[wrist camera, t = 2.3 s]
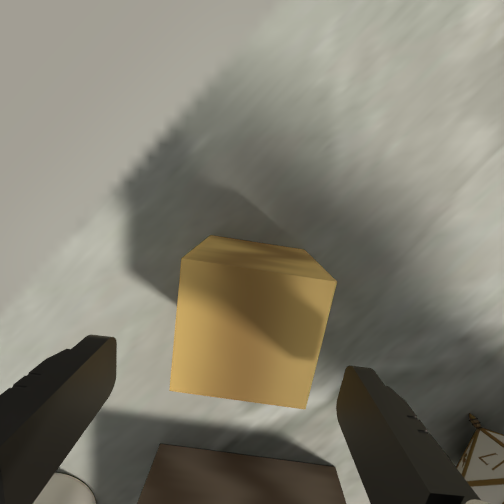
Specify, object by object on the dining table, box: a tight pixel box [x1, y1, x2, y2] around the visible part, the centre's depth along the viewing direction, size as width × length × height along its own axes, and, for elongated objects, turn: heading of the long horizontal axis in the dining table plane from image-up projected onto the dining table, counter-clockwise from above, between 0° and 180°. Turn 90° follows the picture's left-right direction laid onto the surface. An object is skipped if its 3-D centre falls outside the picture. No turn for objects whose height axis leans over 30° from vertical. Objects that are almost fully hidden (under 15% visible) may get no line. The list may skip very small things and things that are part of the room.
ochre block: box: [170, 235, 337, 409], centre depth 12 cm, size 6×6×6 cm
